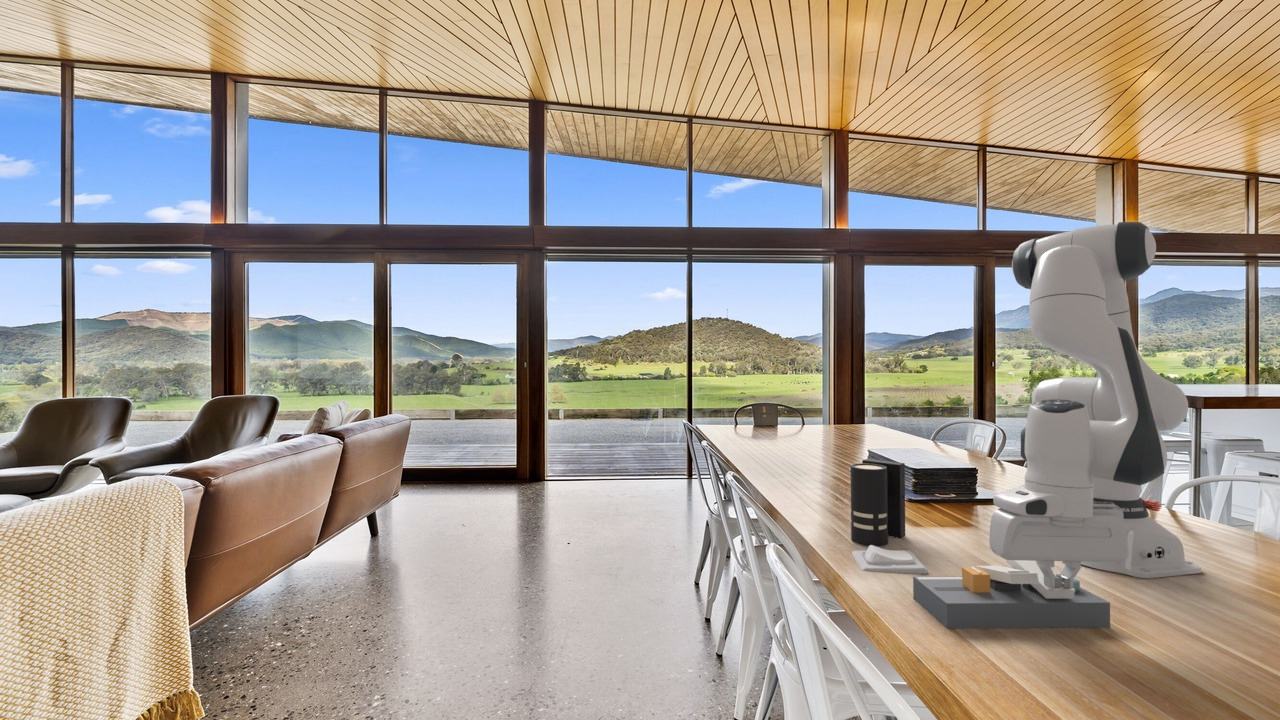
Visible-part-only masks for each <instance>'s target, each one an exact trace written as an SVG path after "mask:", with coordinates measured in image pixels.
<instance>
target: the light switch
mask: <svg viewBox="0 0 1280 720" xmlns="http://www.w3.org/2000/svg"><path fill="white" fill-rule="evenodd" d="M851 555H852V556H853V558H854V560H855V561H856V563H857V565H858V566H859V568H860V570H861V571H863V572H864V571H865V572H879V573H880V572H881V573H898V574H899V573H900V574H925V575H926V574H929V569H927V568H926V566H925V565H924V564H923V563H922V562H921V561H920V560H919V558H917V556H916V555H915V554H914V553H913V552H912V551H911V550H908V549H907V550H904V549H903V550H902V549H899V550H897V549H895V550H894V549H893V550H891V549H886V548H881V547H876V546H873V545H870V546H867V549H866V550H853V551H852V552H851Z"/></svg>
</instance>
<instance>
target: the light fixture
mask: <svg viewBox="0 0 1280 720" xmlns="http://www.w3.org/2000/svg"><path fill="white" fill-rule="evenodd" d="M861 462H862V463H859V462H858V463H853V464H850V529H851V530H850V539H851V541H852V542H853V543H855V544H856V545H859V546H860V545H861V546H865V547H869V546H870V545H873V546H876V547H879V548H881V547H885V546H887V545H888V544H889V537H890V538H895V539H900V540H901V539H903V538H904V537H906V479H905V478H906V477H905V476H906V474H905V473H906V472H905V469H906V467H905V463H904V462H897V461H890V460H881V459H873V458H865V459H862V461H861Z"/></svg>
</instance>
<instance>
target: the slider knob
mask: <svg viewBox="0 0 1280 720" xmlns="http://www.w3.org/2000/svg"><path fill="white" fill-rule="evenodd" d="M961 576H962V585H963V586H965V587H966V588H967V589H969V590H970V591H972V592H973V593H990V574H988V573H986V572H985V571H983V570H982V569H980V568H978V567H974V566H969V567H967V566H966V567H961Z"/></svg>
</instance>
